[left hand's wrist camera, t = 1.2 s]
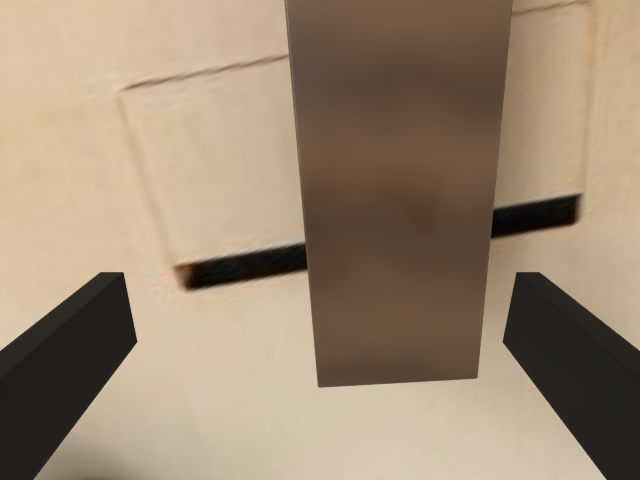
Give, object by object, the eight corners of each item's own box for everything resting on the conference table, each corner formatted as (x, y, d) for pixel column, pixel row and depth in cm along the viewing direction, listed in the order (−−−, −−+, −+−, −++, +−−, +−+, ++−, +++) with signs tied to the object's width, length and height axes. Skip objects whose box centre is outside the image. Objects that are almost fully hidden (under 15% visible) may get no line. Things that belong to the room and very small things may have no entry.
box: (425, 286, 31) (477, 379, 21) (318, 293, 31) (317, 388, 21) (439, -161, 21) (552, -407, 11) (283, -148, 22) (251, -378, 11)
